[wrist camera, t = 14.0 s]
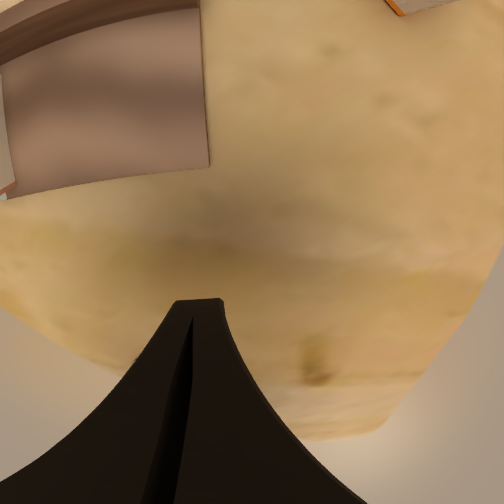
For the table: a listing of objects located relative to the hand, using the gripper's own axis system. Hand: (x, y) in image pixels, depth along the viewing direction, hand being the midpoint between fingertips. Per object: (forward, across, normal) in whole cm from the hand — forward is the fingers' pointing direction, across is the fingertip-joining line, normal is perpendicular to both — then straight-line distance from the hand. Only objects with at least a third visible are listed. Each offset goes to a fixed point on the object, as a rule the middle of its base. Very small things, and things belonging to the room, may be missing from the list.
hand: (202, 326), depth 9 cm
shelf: (+10, +10, -7) cm, 16 cm away
